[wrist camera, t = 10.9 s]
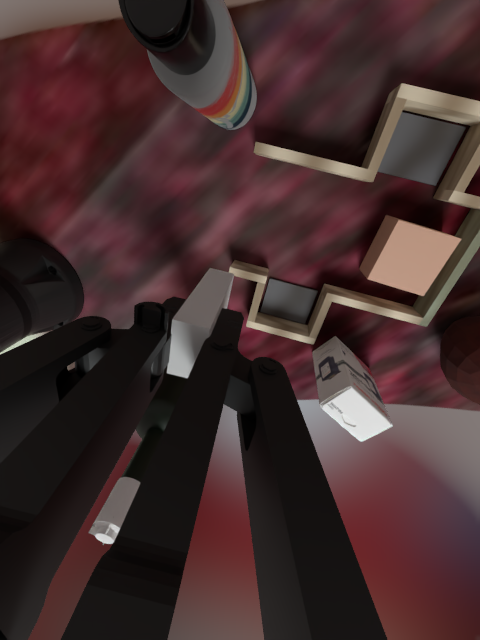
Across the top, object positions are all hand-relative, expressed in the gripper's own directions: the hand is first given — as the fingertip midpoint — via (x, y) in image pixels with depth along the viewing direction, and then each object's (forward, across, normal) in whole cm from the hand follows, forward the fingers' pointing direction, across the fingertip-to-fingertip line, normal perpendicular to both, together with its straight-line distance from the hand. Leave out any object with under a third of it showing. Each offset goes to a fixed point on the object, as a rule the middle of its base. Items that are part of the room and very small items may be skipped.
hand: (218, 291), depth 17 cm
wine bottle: (+23, -2, -15) cm, 27 cm away
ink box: (+22, +19, -16) cm, 33 cm away
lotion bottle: (+23, -5, +13) cm, 27 cm away
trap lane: (+22, +12, +2) cm, 25 cm away
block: (+22, +19, +2) cm, 29 cm away
